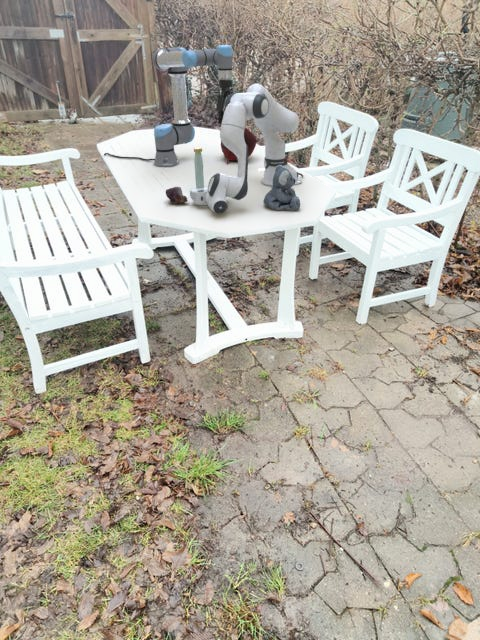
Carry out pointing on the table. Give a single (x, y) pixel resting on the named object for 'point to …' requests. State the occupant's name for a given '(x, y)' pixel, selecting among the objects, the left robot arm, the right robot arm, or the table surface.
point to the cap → (197, 149)
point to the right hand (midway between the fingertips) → (206, 187)
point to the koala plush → (282, 191)
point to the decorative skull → (249, 140)
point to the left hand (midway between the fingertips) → (226, 121)
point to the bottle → (199, 170)
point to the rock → (176, 195)
